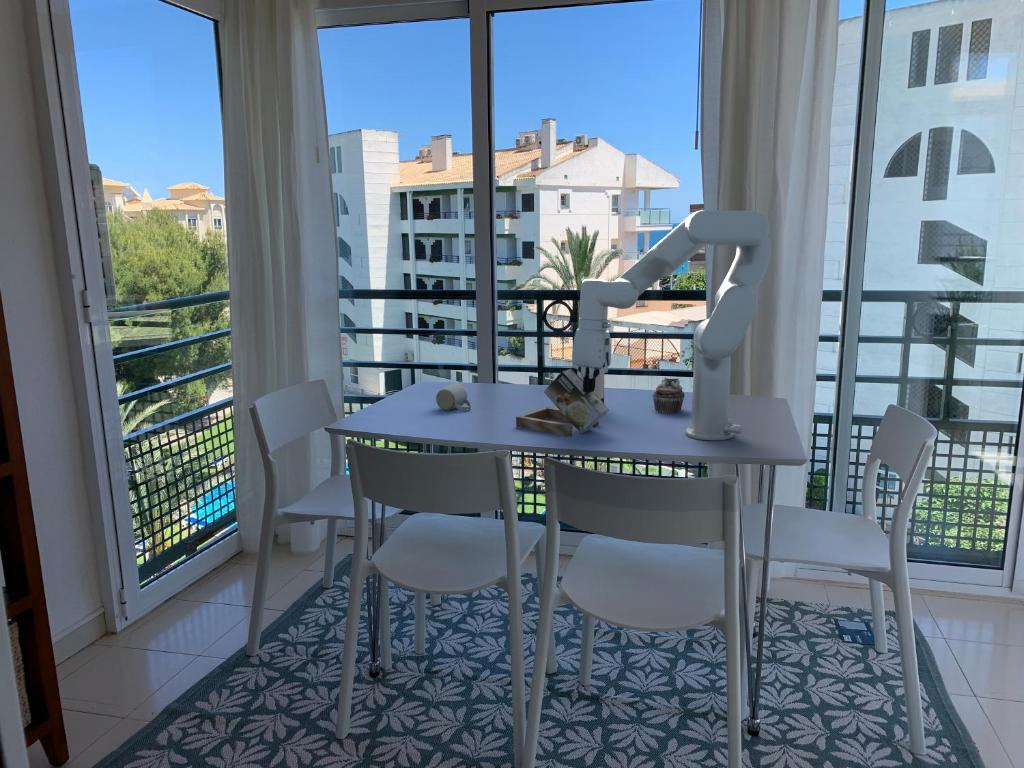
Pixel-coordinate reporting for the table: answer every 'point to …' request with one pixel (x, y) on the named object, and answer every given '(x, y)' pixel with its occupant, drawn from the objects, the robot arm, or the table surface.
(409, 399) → the table surface
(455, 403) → the ceramic mug
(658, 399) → the cupcake
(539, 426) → the u rest
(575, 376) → the coffee box
